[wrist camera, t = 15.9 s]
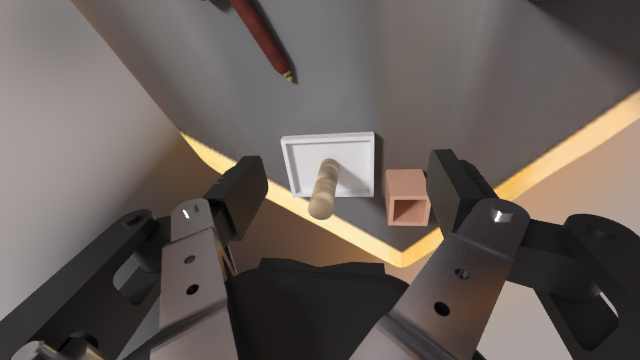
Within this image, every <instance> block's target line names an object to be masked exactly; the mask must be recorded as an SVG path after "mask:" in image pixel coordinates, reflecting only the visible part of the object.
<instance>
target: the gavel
mask: <svg viewBox="0 0 640 360" xmlns="http://www.w3.org/2000/svg"><path fill="white" fill-rule="evenodd" d="M201 1H205V0H201ZM229 1H230V3H231V4H232V6H233V7H234V9H235V10H236V12H237V13H238V15H239V16H240V18H241V19H242V21H243V22H244V24H245V25H246V27H247V28H248V30H249V31H250V33H251V34H252V36H253V37H254V39H255V40H256V42H257V43H258V45H259V46H260V48H261V49H262V51H263V52H264V54H265V55H266V57H267V58H268V60H269V61H270V63H271V64H272V66H273V67H274V69H275V70H276V71H278V72H279V73H280V74H281V75H282V76H283V77H286V78H287V80H288V82H292V80H293V78H292V76H290V73H291V71H290V70H289V66H288V63H287V60H286V58H285V56H284V55H283V53H282V52H281V50H280V48H279V47H278V45H277V44H276V42H275V41H274V39H273V37H272V36H271V34H270V33H269V31H268V29H267V28H266V26H265V25H264V23H263V21H262V20H261V18H260V17H259V15H258V13H257V12H256V10H255V9H254V7H253V5H252V4H251V2H250V1H249V0H229Z"/></svg>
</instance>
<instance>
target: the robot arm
mask: <svg viewBox="0 0 640 360" xmlns="http://www.w3.org/2000/svg"><path fill="white" fill-rule="evenodd" d="M532 1H547V0H532ZM426 191H427V195H428V198H429V200H430V203H431V205H432V208H433V211H434V213H435V216H436V219H437V221H438V224H439V227H440V229H441V232H442V235H443V237H444V240H443V241H442V243H441V244H440V245H439V247H438V248H437V249H436V251H435V252H434V253H433V255H432V256H431V257H430V259H429V260H428V261H427V263H426V264H425V266H424V267H423V268H422V270H421V271H420V272H419V274H418V275H417V276H416V278H415V279H414V281H413V282H412V283H411V285H409V284H408V283H406V282H404V281H402V280H400V279H399V278H396V277H394V276H391V275H388V274H385V269H384V264H383V263H365V262H349V263H343V264H337V265H331V266H325V267H315V266H312V265H309V264H305V263H302V262H299V261H295V260H291V259H280V258H262V259H261V262H260V264H259V267H257V268H253V269H250V270H247V271H244V272H242V273H240V274H238V275H237V272H236V268H235V265H234V261H233V258H232V255H231V251H230V248H229V246H228V243H229V241H230V240H231V241H232V240H233V241H241V240H242V238H243V236H244V235H245V233H246V231H247V229H248V227H249V226H250V223H251V222H252V220H253V218H254V216H255V215H256V213H257V211H258V209H259V207H260V205H261V204H262V202H263V200H264V198H265V196H266V195H267V192H268V181H267V177H266V174H265V170H264V166H263V163H262V159H261V157H260V156H243V157H242V158H241V160H240V161H239V162H238V163H237V164H236V165H235V166H234V167H232V168H230V169H229V170H227V171H226V172H225V173H224V174H223V175H222V176H221V179H219V180H218V181H217V182H216V184H214V185H213V186H212V187H211V188H210V190H209V191H208V192H207V193H206V194H205V195H204V196H203V197H202V198H200V199H199V198H198V199H192V200H189V201H187V202H184V203H182V204H181V205H179V206H178V207H176V208H175V209H174V210H173V212H172V214H171V215H170V216H166V217H161V218H155V217H154V215H153V213H152V212H151V211H150V210H148V209H141V210H136V211H133V212H130V213H128V214H126V215H124V216H122V217H121V218H119V219H118V220H117V221H115V222H114V223H113V224H112V225H111V226H110V227H109V228H107V229H106V230H105V231H104V232H103V233H102V234H100V235H99V236H98V237H97V238H96V239H95V240H93V241H92V242H91V243H90V244H89V245H88V246H87V247H85V248H84V249H83V250H82V251H81V252H80V253H78V254H77V255H76V256H75V257H74V258H73V259H72V260H70V261H69V262H68V263H67V264H66V265H65V266H64V267H62V268H61V269H60V270H59V271H58V272H57V273H55V274H54V275H53V276H52V277H51V278H50V279H49V280H47V281H46V282H45V283H44V284H43V285H42V286H40V287H39V288H38V289H37V290H36V291H35V292H33V293H32V294H31V295H30V296H29V297H28V298H27V299H26V300H24V301H23V302H22V303H21V304H20V305H18V306H17V307H16V308H15V309H14V310H13V311H12V312H11V313H9V314H8V315H7V316H6V317H5V318H4V319H2V321H0V360H116V359H117V358H118V356H119V355H120V353H121V352H122V350H123V349H124V347H125V346H126V344H127V343H128V341H129V340H130V338H131V337H132V335H133V334H134V332H135V331H136V329H137V328H138V327H139V325H140V324H141V322H142V321H143V319H144V318H145V316H146V315H147V313H148V312H149V310H150V309H151V307H152V306H153V304H154V303H155V301H156V300H157V298H158V297H159V296H160V294H161V296H160V322H159V323H160V324H159V332H158V333H157V334H156V335H154V336H153V337H152V338H150V339H149V340H148V341H146V342H145V343H144V344H142V345H141V346H140V347H139V348H137V349H136V350H135V351H133V352H132V353H131V354H129V355H128V356H127V357H126V358H124V359H123V360H486V359H485V358H484V357H483V356H482V355H481V353H479V351H477V349H476V348H477V346H478V343H479V341H480V338H481V336H482V334H483V332H484V329H485V327H486V325H487V322H488V320H489V318H490V315H491V313H492V311H493V308H494V306H495V304H496V301H497V299H498V297H499V294H500V292H501V289H502V287H503V285H504V283H505V280H506V281H510V282H513V283H517V284H520V285H523V286H527V287H530V288H533V289H534V291H535V293H536V294H537V296H538V298H539V300H540V301H541V303H542V305H543V307H544V309H545V310H546V312H547V314H548V316H549V317H550V319H551V321H552V323H553V325H554V326H555V328H556V330H557V332H558V333H559V335H560V337H561V339H562V340H563V342H564V344H565V346H566V348H567V349H568V351H569V353H570V355H571V356H572V358H573V360H640V237H639V236H638V235H637V234H635V233H634V232H633V231H632V230H630V229H629V228H627V227H625V226H623V225H622V224H620V223H617V222H615V221H613V220H610V219H607V218H604V217H600V216H596V215H591V214H574V215H571V216H569V217H568V218H567V220H566V221H565V223H564V225H558V224H553V223H548V222H543V221H537V220H534V219H530V216H529V214H528V213H527V211H526V210H525V209H523V208H522V207H521V206H519V205H517V204H515V203H513V202H510V201H507V200H503V199H500V198H499V197H498V196H497V194H496V193H495V192H494V191H493V189H492V188H491V187H490V185H489V184H488V183H487V182H486V181H485V179H484V178H483V176H482V175H480V172H479V171H478V170H477V169H476V167H475V166H474V165H472V164H470V163H469V162H467V161H465V160H458V158H457V157H456V155H455V154H454V153H453V151H452V150H451V149H441V150H432V151H431V153H430V157H429V164H428V171H427V177H426ZM130 256H132V257H133V259H134V260H135V261H136V262H137V263H138V265H139V267H138V268H137V269H136V271H135V272H134V273H133V274H132V275H131V277H130V278H129V279H128V280H127V282H125V284H124V285H123V286H122V287H121V288H120V290H119V291H118V290H117V289H116V288H115V287H114V285H113V277H114V275H115V273H116V272H117V270H118V269H119V268H120V267H121V266H122V265H123V264H124V263H125V262H126V260H127V259H128V258H129V257H130ZM601 291H602V292H603V293H604V295H605V296H606V297H607V298H608V300H609V301H610V302H611V303H612V305H613V306H614V307H615V309H616V311H617V314H618V317H619V318H618V317H617V316H616V315H615V313H614V312H613V311H612V310H611V308H610V307H609V306H608V304H607V303H606V302H605V301H604V299H603V298H602V297H601V295H600V293H601Z"/></svg>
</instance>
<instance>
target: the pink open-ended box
mask: <svg viewBox="0 0 640 360" xmlns="http://www.w3.org/2000/svg"><path fill="white" fill-rule="evenodd" d="M385 203H386V211H387V219H388V225H403V226H427V224H428V218H429V213H430V207H431V203H430V200H429V198H428V195H427V191H426V179H425V176H424V174H423V171H422V169H401V170H386V177H385Z"/></svg>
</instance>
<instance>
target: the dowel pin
mask: <svg viewBox="0 0 640 360" xmlns="http://www.w3.org/2000/svg"><path fill="white" fill-rule="evenodd" d="M338 173H339V164H338V162H337V161H335V160H334V159H325V160H323V161H322V162H321V165H320V168H319V172H318V175H317V179H316V182H315V186H314V189H313V193H312V196H311V200H310V203H309V207H308V212H309V214H310V215H311V216H312V217H314V218H315V219H319V220H325V219H328V218H329V217H330V216H331V215H332V212H333V205H334V199H335V192H336V186H337V179H338Z"/></svg>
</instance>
